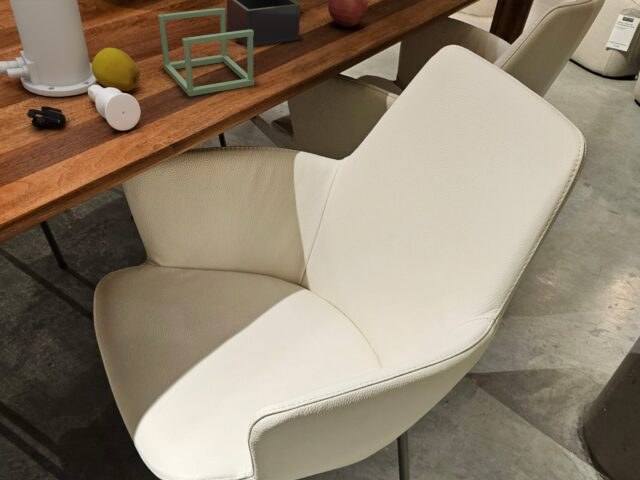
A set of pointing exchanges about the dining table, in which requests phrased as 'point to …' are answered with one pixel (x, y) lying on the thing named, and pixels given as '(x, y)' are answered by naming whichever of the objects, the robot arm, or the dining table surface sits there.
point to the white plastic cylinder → (115, 106)
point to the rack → (189, 63)
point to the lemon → (115, 69)
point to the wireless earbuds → (46, 117)
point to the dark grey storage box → (265, 20)
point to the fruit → (347, 11)
